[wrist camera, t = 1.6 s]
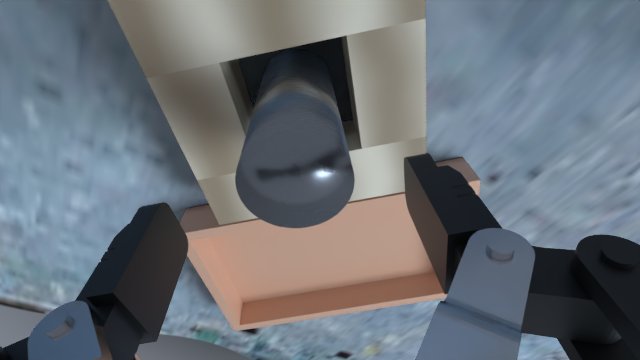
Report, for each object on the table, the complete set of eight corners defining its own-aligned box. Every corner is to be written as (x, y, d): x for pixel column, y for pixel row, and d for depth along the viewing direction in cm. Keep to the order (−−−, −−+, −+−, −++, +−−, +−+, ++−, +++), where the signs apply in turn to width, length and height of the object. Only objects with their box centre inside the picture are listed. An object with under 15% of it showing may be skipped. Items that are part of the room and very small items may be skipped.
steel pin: (324, 41, 20) (345, 119, 11) (336, 109, 22) (361, 217, 13) (253, 57, 20) (216, 144, 11) (273, 122, 23) (255, 236, 14)
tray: (462, 157, 25) (480, 180, 23) (455, 268, 33) (467, 294, 30) (186, 208, 27) (174, 234, 24) (238, 303, 34) (234, 331, 32)
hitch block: (400, -77, 17) (425, -82, 14) (409, 156, 25) (426, 187, 22) (140, -15, 18) (103, -7, 14) (229, 189, 26) (219, 224, 22)
